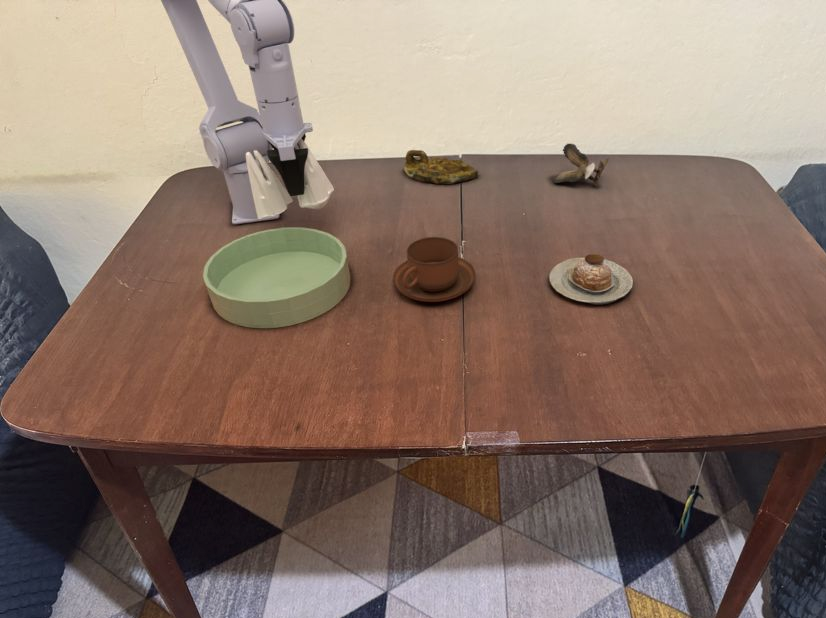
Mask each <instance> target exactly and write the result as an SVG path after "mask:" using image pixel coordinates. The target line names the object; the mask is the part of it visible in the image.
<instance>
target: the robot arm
mask: <svg viewBox="0 0 826 618" xmlns="http://www.w3.org/2000/svg"><path fill="white" fill-rule="evenodd" d="M207 1H208V2H209V3H210V4H211V5H212V7H213V8H214V9H215V10H216V11H217V12H218V13H219V14H220V15H221V16H222V17H223V18H224V19H225V20H226V21H227V22H228V23H229V24H230V29H231V32H232V34H233V38H234V39H235V41H236V43H237V45H238V47H239V49H240V54H241V58H242V60H243V62H244V64H245V65H247V66H248V69H249V73H250V79H251V82H252V86H253V91H254V96H255V100H256V104H257V108H255V107H253V106H251V105H249V104H247V103H244V102H242V101H240V100H239V99H238V96H237V94H236V92H235V89H234V87H233V84H232V82H231V80H230V77H229V75H228V72H227V70H226V67H225V65H224V63H223V60H222V58H221V55H220V54H219V51H218V48H217V46H216V44H215V42H214V39H213V37H212V34H211V32H210V29H209V27H208V24H207V21H206V20H205V18H204V15H203V13H202V10H201V8H200V5H199V3H198V1H197V0H160V2H161V4H162V6H163V8H164V10H165V12H166V14H167V16H168V18H169V21H170V24H171V25H172V26H171V27H172V28H173V30H174V33H175V34H176V37H177V39H178V42H179V45H180V46H181V48H182V51H183V53H184V55H185V57H186V60H187V63H188V64H189V67H190V69H191V73H193V76H194V79H195V80H196V81H195V82H196V83H197V85H198V88H199V90H200V92H201V94H202V97H203V99H204V102H205V103H206V106H207V108H208V109H207V112H206V113H205V115H204V117H203V118H202V120H201V121H200V124H199V129H198V130H199V134H200V136H201V139H202V143H203V148H204V151H205V153H206V156H207V158H208V159H209V161H210V164H211V165H213V167H214V168H216V169H217V170H219V171H221V172H223V175H224V179H225V183H226V187H227V190H228V193H229V197H230V200H231V204H232V215H231V223H232V225H240V224H249V223H256V222H264V221H271V220H278V219H279V218H280V214H277V215H275V216H266V217H262V218H260V219H259V218H257V213H256V208H255V204H254V199H253V194H252V189H251V184H250V179H249V174H248V169H247V162H246V153H247V152H250V153H251V155H252V156H253V158H254V160H255V162H256V163H257V160H256V158H255V155H254V150H256V151H258V152H259V153H260V155H261V156H262V157H263V158H264V159H265V161H266V162H267V163H269V162H270V163H271V165H273V167H274V168H275V169H276V170H277V172H278V173H279V175H280V178H281V180H282V182H283V184H284V188H285V189H286V190H287V192H288V194H289V195H290V197H296V196H297V197H298V195H303V194H304V188H305V185H304V169H305V163H306V160H307V156H308V148H303V149H300V147H299V144H298V142H299V140H300V139H302V140H303V141H304V142H305V141H306V138H307V135H306V134H307V133H312V132H313V131H314V128H313V124H312V123H311V122H304V119H303V114H302V109H301V103H300V98H299V92H298V87H297V81H296V76H295V70H294V67H293V60H292V56H291V55H292V54H291V50H290V45H289V44H291V43H292V42H293V41H294V38H295V24H294V21H293V17H292V16H293V15H292V14H291V11H290V9H289V7H288V5H287V4H286V2H285V1H284V0H207ZM235 123H237V124H235ZM230 124H231V125H230ZM227 125H229V126H227ZM224 126H226V127H224ZM221 127H222V128H221ZM218 128H219V129H218ZM296 144H297V145H298V147H299V149H295V146H296ZM257 165H258V163H257ZM258 167H259V165H258ZM259 169H260V167H259ZM260 171H261V170H260ZM269 181H270V180H269Z"/></svg>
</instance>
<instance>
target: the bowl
mask: <svg viewBox="0 0 826 618" xmlns="http://www.w3.org/2000/svg"><path fill="white" fill-rule="evenodd" d="M349 267H350V266H349V261H348V254H347V250H346V246H345V245H344V244H343V243H342V241H341V240H340V239H339V238H338V237H336V236H334V235H332V234H331V233H329V232H326V231H322V230H319V229H315V228H310V227H309V228H308V227H301V226H300V227H299V226H297V227H296V226H295V227H292V226H291V227H287V226H286V227H278V228H270V229H265V230H261V231H260V230H259V231H257V232H252V233H249V234H246V235H244V236H242V237H238V238H237V239H234V240H231V242H229V243H227V244H225V245H223V246H222V247H220V248H219V249H218V250H216V251H215V252H214V253H213V254H212V255H211V256H210V257H209V259H208V260H207V262H206V263H205V265H204V267H203V273H202V279H203V282H204V285H205V289H206V291H207V294H208V296H209V299H210V302H211V305H212V307H213V309H214V311H215V312H216V313H217V315H219V316H220V317H221V318H222V319H223V320H225V321H226V322H229V323H231V324H233V325H237V326H240V327H245V328H251V329H276V328H284V327H290V326H294V325H298V324H301V323H305V322H308V321H310V320H313V319H315V318H317V317H320V316H322V315H323V314H325V313H327V312H329V311H330V310H331V309H333V308H334V307H335V306H337V305H338V304H340V302H341V301H342V300H343V299H344V297H345V296H346V295H347V293H348V291H349V289H350V287H351V286H350V285H351V279H352V278H351V272H350V268H349Z"/></svg>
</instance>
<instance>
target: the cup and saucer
mask: <svg viewBox="0 0 826 618" xmlns="http://www.w3.org/2000/svg"><path fill="white" fill-rule="evenodd" d="M458 246H459V245H457V243H456V242H454V241H453V240H452V239H449V238H446V237H441V236H430V237H429V236H428V237H422V238H420V239H417V240H415V241H413V242H411V243H410V244H409V245H408V246H407V248H406V259H407V260H406V261H404V262H402V263H401V264H399V265H398V266H397V268H396V269H395V271H394V272H393V275H392V281H393V284H394V286H395V288H396V289H397V291H398V292H399V293H400V294H402V295H403V296H406V298H409V299H410V300H411V299H412V300H415V301H418V302H423V303H424V302H425V303H440V302H446V301H450V300H453V299H455V298H458V297H459V296H461V295H463V294H465V293H466V292H467V291H468V290H470V289H471V288H472V286H473V284H474V282H475V279H476V271H475V268H474V267H473V265H472V264H471V263H470V262H469V261H467V260H466V259H464V258H462V257H459V247H458Z"/></svg>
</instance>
